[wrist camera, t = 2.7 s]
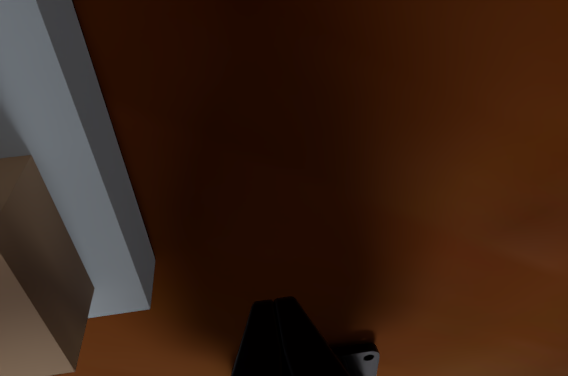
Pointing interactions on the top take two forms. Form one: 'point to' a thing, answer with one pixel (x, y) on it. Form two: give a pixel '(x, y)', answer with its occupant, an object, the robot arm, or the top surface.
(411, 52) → the top surface
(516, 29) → the top surface
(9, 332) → the brown flat block
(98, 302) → the board
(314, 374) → the robot arm
